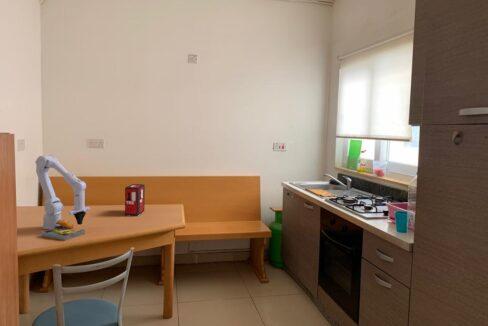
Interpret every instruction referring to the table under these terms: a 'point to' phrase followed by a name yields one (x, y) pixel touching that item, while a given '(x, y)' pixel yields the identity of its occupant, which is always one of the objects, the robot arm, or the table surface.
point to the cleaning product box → (134, 199)
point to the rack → (61, 237)
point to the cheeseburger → (63, 227)
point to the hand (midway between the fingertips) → (79, 224)
